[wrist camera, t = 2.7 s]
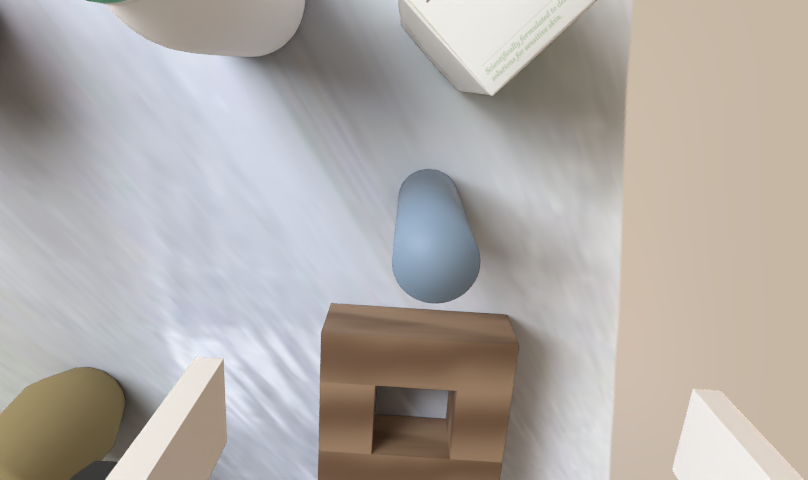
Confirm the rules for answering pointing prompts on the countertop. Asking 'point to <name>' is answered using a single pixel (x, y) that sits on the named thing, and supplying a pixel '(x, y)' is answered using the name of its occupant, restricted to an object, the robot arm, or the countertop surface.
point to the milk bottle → (212, 24)
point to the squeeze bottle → (60, 425)
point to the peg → (433, 240)
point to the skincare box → (486, 36)
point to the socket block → (414, 368)
